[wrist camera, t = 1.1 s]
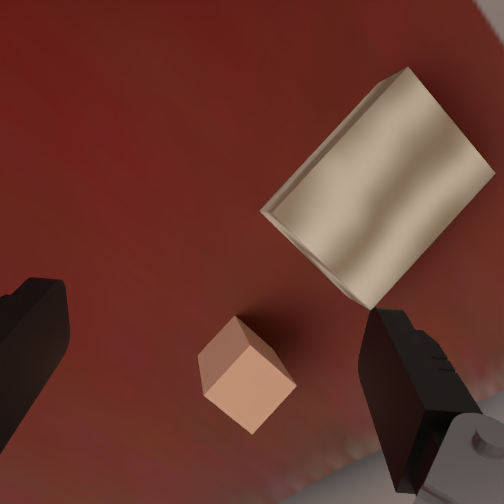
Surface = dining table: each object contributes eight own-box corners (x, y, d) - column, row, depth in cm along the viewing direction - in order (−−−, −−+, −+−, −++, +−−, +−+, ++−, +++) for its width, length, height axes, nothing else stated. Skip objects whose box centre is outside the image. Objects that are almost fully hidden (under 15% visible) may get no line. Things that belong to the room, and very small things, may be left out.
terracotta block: (197, 355, 39) (203, 395, 31) (234, 315, 39) (250, 345, 31) (236, 387, 40) (252, 434, 32) (272, 348, 40) (296, 385, 32)
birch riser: (259, 210, 38) (271, 212, 33) (378, 83, 39) (407, 66, 34) (347, 296, 41) (370, 310, 36) (457, 176, 41) (495, 173, 36)
